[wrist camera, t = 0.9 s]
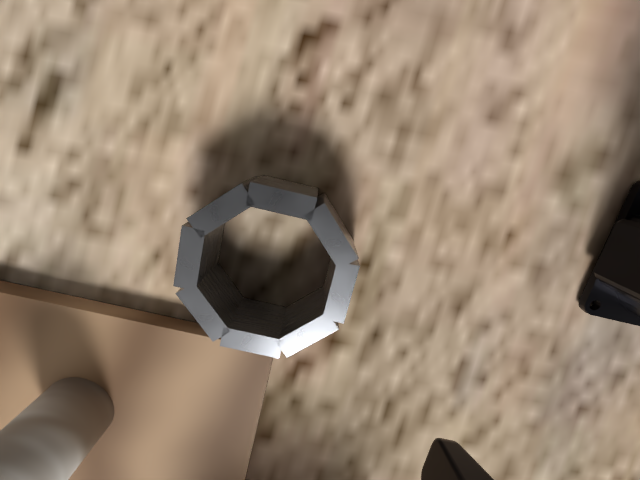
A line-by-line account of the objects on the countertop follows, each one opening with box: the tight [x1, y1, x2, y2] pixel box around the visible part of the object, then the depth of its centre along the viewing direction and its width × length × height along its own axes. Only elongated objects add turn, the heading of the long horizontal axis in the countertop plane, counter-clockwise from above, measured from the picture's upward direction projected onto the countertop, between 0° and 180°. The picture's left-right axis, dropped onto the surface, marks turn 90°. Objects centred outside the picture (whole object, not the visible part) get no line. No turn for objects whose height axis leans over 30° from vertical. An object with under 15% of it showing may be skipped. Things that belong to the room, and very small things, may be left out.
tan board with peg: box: [0, 280, 273, 480], centre depth 16 cm, size 14×11×6 cm
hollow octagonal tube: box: [174, 175, 360, 359], centre depth 16 cm, size 7×7×3 cm
